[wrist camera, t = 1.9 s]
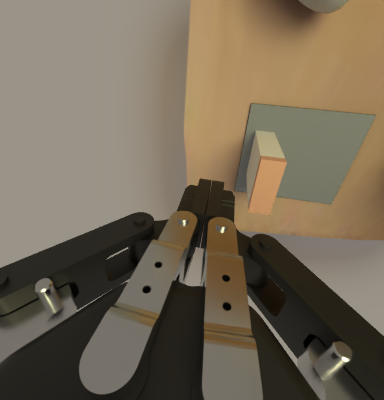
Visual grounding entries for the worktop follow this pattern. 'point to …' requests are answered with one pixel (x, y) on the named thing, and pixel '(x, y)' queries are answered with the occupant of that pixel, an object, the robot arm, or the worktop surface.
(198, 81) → the worktop surface
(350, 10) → the worktop surface
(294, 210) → the worktop surface
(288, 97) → the worktop surface
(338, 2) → the donut
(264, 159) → the cream and orange block
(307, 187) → the slate mat
